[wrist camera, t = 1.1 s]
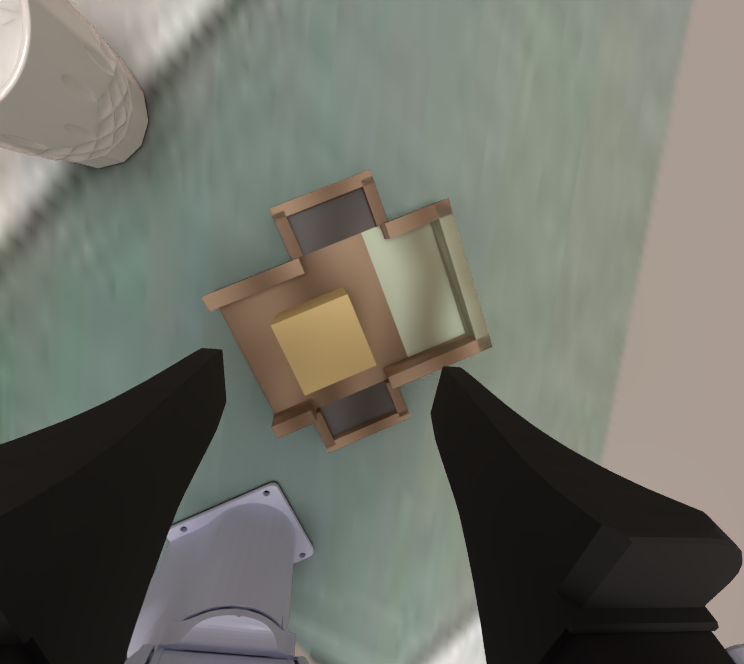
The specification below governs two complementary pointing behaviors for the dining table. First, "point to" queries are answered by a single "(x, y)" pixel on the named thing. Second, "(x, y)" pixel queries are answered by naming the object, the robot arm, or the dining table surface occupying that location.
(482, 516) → the robot arm
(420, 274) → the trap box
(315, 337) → the block
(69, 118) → the white cup
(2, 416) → the dining table surface
